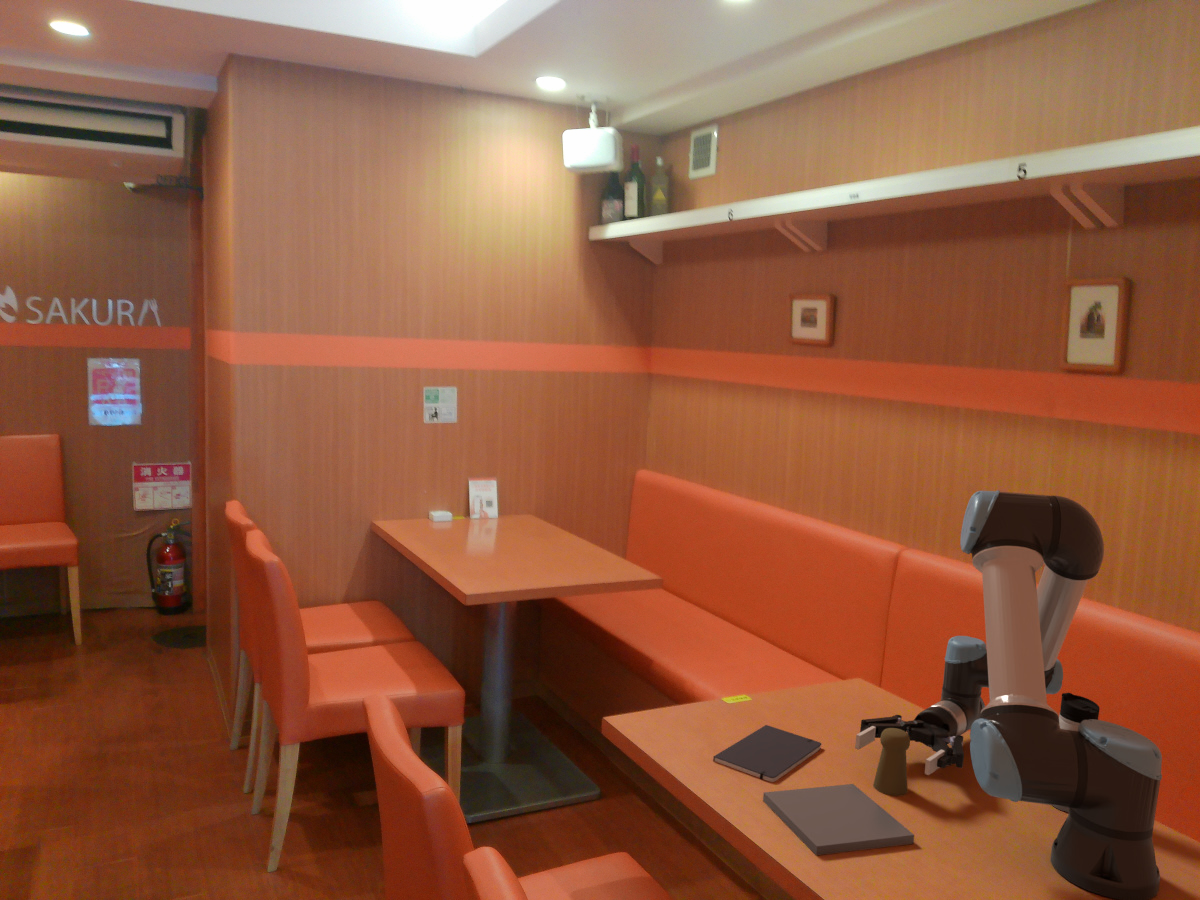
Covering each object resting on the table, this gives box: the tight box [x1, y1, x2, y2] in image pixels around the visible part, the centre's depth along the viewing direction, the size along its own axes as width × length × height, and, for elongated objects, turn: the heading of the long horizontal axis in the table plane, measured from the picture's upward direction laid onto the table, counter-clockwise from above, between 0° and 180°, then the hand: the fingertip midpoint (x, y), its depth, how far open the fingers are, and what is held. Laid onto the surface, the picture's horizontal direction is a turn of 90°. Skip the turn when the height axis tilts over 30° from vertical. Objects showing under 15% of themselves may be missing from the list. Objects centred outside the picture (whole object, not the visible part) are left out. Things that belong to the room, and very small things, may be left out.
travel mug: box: [1052, 692, 1101, 814], centre depth 171 cm, size 6×7×20 cm
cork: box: [872, 728, 911, 797], centre depth 174 cm, size 6×6×11 cm
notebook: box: [712, 724, 822, 783], centre depth 185 cm, size 13×2×21 cm
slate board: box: [762, 783, 915, 856], centre depth 160 cm, size 18×18×2 cm
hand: (891, 754), depth 174 cm, fingers open, 13 cm apart
